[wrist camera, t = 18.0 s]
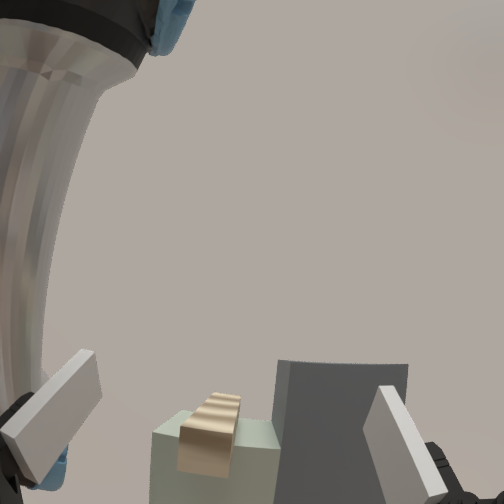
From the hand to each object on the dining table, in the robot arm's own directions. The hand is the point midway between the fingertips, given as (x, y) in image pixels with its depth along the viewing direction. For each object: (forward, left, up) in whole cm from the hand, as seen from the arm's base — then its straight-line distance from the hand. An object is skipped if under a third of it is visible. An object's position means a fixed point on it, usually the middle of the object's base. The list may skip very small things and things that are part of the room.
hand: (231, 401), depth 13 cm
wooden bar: (-11, +19, -8) cm, 23 cm away
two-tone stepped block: (-7, +27, -28) cm, 40 cm away
